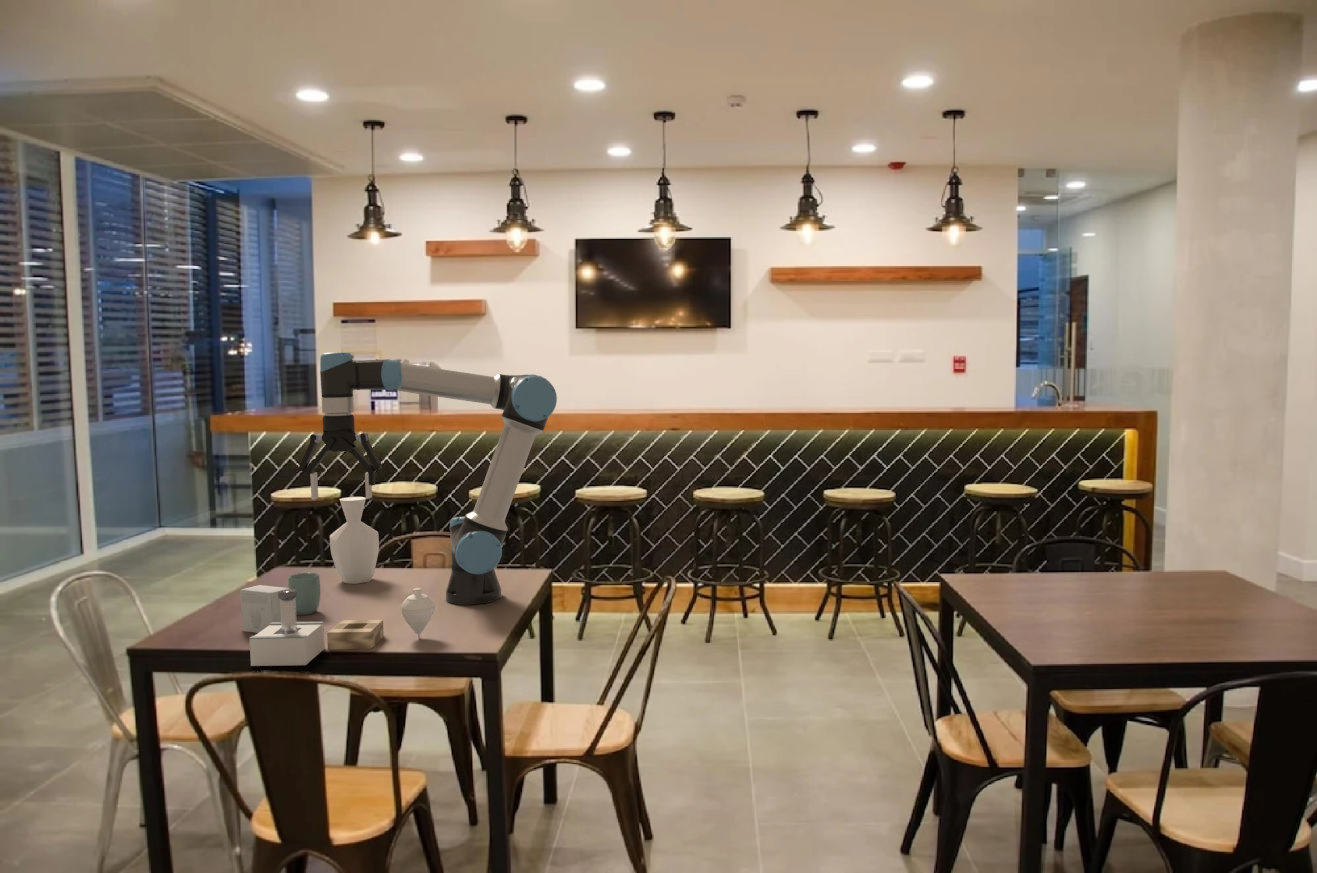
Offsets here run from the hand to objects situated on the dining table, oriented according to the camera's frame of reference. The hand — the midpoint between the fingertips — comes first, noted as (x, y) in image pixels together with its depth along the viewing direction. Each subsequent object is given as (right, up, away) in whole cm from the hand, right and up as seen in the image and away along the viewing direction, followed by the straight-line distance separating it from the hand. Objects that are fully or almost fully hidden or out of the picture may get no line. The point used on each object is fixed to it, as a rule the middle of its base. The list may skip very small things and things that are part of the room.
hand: (342, 498), depth 237 cm
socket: (-3, -34, -25) cm, 42 cm away
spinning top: (+22, -33, -12) cm, 41 cm away
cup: (-14, -31, +12) cm, 36 cm away
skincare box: (-18, -33, -3) cm, 37 cm away
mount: (+8, -33, -15) cm, 37 cm away
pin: (-3, -34, -25) cm, 42 cm away
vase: (-12, -28, +48) cm, 57 cm away
